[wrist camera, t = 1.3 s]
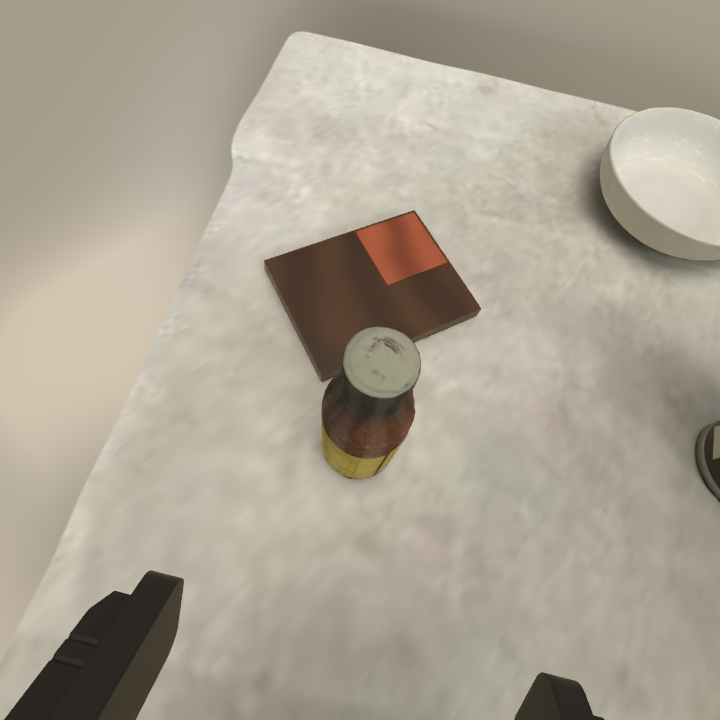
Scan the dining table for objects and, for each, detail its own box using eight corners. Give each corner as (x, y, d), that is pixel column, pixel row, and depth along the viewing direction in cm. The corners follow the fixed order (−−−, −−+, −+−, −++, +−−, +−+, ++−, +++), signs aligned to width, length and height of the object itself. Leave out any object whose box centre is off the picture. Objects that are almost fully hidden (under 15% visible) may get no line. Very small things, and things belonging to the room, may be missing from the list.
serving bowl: (550, 163, 59) (579, 115, 53) (681, 145, 63) (722, 99, 57) (630, 297, 51) (675, 260, 45) (773, 266, 55) (832, 228, 49)
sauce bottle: (372, 403, 43) (418, 286, 25) (402, 465, 41) (476, 384, 23) (307, 430, 41) (306, 325, 23) (335, 496, 39) (358, 436, 21)
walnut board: (411, 219, 53) (414, 209, 51) (476, 315, 48) (481, 307, 46) (265, 269, 48) (263, 259, 46) (321, 382, 43) (322, 375, 42)
